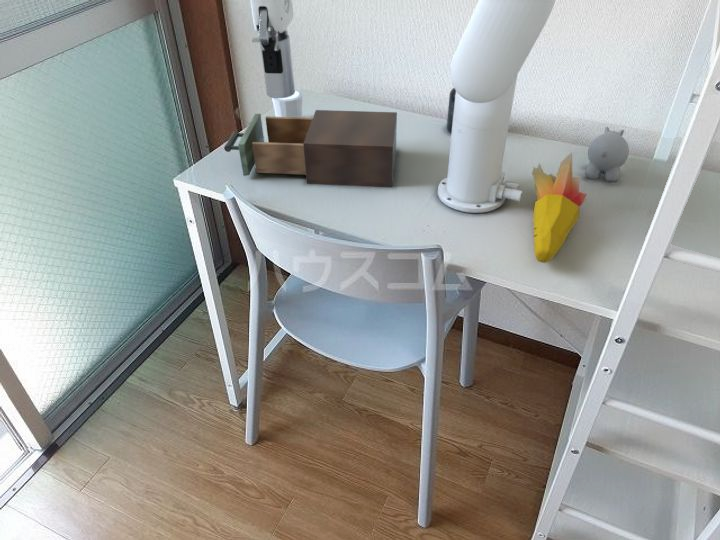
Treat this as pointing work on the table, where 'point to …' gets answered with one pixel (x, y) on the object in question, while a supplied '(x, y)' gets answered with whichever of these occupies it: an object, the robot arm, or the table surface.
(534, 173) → the torch
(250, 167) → the drawer
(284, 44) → the measuring cup
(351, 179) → the cabinet
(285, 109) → the white cylinder
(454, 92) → the supplement bottle
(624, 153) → the toy rhinoceros
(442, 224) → the table surface
